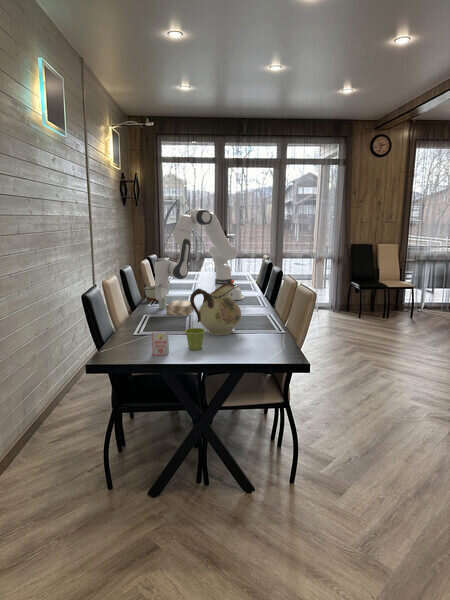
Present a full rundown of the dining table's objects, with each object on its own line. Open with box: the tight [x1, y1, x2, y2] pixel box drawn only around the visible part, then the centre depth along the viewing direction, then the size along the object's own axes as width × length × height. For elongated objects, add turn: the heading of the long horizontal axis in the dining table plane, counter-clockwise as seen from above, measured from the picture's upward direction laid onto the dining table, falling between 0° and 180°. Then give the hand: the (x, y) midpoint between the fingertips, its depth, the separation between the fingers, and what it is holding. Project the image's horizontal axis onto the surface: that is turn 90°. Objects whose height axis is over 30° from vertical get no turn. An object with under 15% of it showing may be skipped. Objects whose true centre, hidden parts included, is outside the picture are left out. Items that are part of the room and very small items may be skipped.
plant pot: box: [184, 327, 206, 351], centre depth 195 cm, size 9×9×9 cm
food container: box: [143, 285, 159, 303], centre depth 298 cm, size 12×6×10 cm, turn 84°
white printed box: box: [151, 332, 170, 357], centre depth 187 cm, size 4×7×10 cm, turn 90°
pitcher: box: [189, 283, 242, 336], centre depth 218 cm, size 22×24×25 cm
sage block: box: [158, 296, 168, 310], centre depth 275 cm, size 4×4×7 cm
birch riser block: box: [165, 300, 195, 316], centre depth 264 cm, size 14×16×6 cm
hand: (162, 303), depth 276 cm, fingers open, 8 cm apart
